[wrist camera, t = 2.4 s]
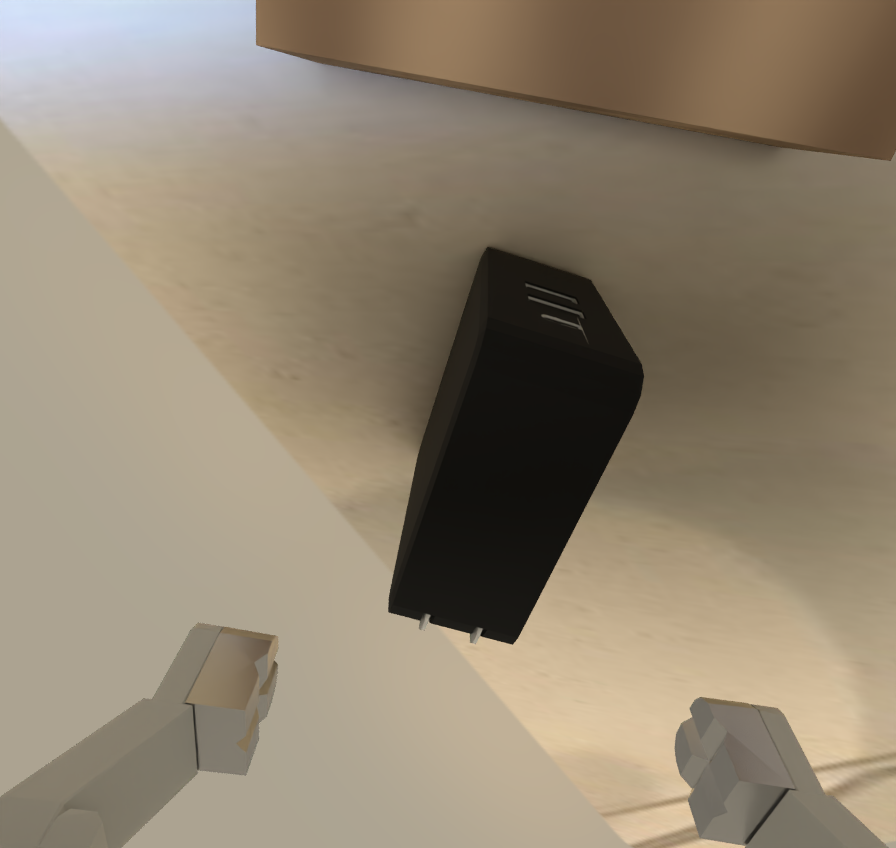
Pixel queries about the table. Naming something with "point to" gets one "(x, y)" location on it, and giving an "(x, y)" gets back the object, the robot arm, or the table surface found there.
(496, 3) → the walnut box
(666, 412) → the table surface
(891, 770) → the table surface
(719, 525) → the table surface
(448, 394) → the electronic device
